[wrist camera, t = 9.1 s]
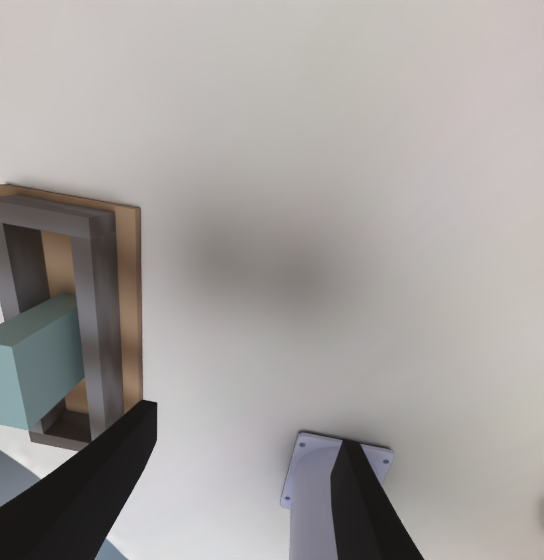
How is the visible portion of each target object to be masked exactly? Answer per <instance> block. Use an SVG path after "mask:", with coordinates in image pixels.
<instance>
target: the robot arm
mask: <svg viewBox="0 0 544 560" xmlns="http://www.w3.org/2000/svg"><path fill="white" fill-rule="evenodd" d="M156 441H157V402H152V401H147V400H140V401H139V402H138V403H137V404H135V405H134V406H133V407H132V408H131V409H130V410H129V411H127V412H126V413H125V414H124V415H123V416H122V417H121V418H119V419H118V420H117V421H116V422H115V423H114V424H112V425H111V426H110V427H109V428H108V429H106V430H105V431H104V432H103V433H102V434H100V435H99V436H98V437H97V438H95V439H94V440H93V441H92V442H90V443H89V444H88V445H87V446H86V447H84V448H83V449H82V450H80V451H79V452H78V453H77V454H75V455H74V456H73V457H71V458H70V459H69V460H67V461H66V462H65V463H63V464H62V465H61V466H59V467H58V468H57V469H55V470H54V471H53V472H51V473H50V474H48V475H47V476H46V477H44V478H43V479H41V480H40V481H39V482H37V483H36V484H34V485H33V486H31V487H30V488H29V489H27V490H26V491H24V492H22V493H21V494H19V495H18V496H16V497H15V498H13V499H12V500H10V501H9V502H7V503H6V504H4V505H3V506H1V507H0V560H94V559H95V557H96V555H97V553H98V551H99V549H100V547H101V546H102V544H103V542H104V540H105V538H106V536H107V535H108V533H109V531H110V529H111V528H112V526H113V524H114V522H115V521H116V519H117V517H118V515H119V513H120V512H121V510H122V508H123V506H124V505H125V503H126V501H127V499H128V498H129V496H130V494H131V492H132V490H133V489H134V487H135V485H136V483H137V481H138V480H139V478H140V476H141V474H142V472H143V471H144V469H145V466H146V464H147V462H148V460H149V457H150V455H151V453H152V451H153V448H154V446H155V444H156ZM393 459H394V455H393V452H392V451H391V450H389V449H384V448H379V447H374V446H369V445H364V444H360V443H359V442H354V441H349V440H344V439H343V440H339V439H334V438H329V437H324V436H319V435H314V434H309V433H300V434H298V436H297V440H296V444H295V448H294V451H293V455H292V459H291V462H290V466H289V470H288V474H287V477H286V481H285V485H284V488H283V492H282V496H281V500H280V505H281V507H283V508H287V509H291V510H290V548H289V560H424V558H423V557H422V555H421V554H420V552H419V550H418V549H417V547H416V546H415V544H414V542H413V541H412V539H411V537H410V536H409V534H408V532H407V531H406V529H405V527H404V526H403V524H402V522H401V520H400V519H399V517H398V515H397V513H396V512H395V510H394V508H393V506H392V504H391V503H390V501H389V499H388V497H387V495H386V494H385V492H384V490H383V488H382V486H381V485H382V483H383V480H384V478H385V476H386V474H387V472H388V470H389V467H390V465H391V463H392V461H393Z"/></svg>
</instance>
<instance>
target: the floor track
mask: <svg viewBox="0 0 544 560" xmlns="http://www.w3.org/2000/svg"><path fill="white" fill-rule="evenodd" d="M61 293H65V294H70V295H75V296H76V298H77V307H78V317H79V326H80V335H81V344H82V354H83V363H84V372H85V378H83V379H82V380H81V381H80V382H79V383H78V384H77V385H76V386H75V387H74V388H73V389H72V390H71V391H70V392H69V393H68V394H67V395H66V396H65V397H63V398H62V399H61V400H60V401H59V402H58V403H57V404H56V405H55V406H54V407H53V408H52V409H51V410H50V411H49V412H48V413H47V414H46V415H45V416H43V417H42V418H41V419H40V420H39V421H38V422H37V423H36V424H35V425H34V426H33V427H32V428H31V429H30V430H29V435H30V439H31V442H35V443H40V444H45V445H50V446H54V447H59V448H64V449H69V450H74V451H80V450H82V449H83V448H84V447H86V446H87V445H88V444H89V443H90V442H92V441H93V440H94V439H95V438H97V437H98V436H99V435H100V434H102V433H103V432H104V431H105V430H106V429H108V428H109V427H110V426H111V425H112V424H114V423H115V422H116V421H117V420H118V419H119V418H121V417H122V416H123V415H124V414H125V413H126V412H127V411H129V410H130V409H131V408H132V407H133V406H134V405H135V404H137V403H138V402H139V401H140V400H143V389H142V310H141V232H140V208H136V207H130V206H124V205H119V204H113V203H108V202H102V201H97V200H91V199H85V198H80V197H74V196H69V195H63V194H58V193H52V192H46V191H41V190H35V189H30V188H24V187H18V186H13V185H7V184H1V185H0V303H1V307H2V312H3V316H4V321H7V320H9V319H11V318H13V317H15V316H17V315H19V314H21V313H23V312H25V311H27V310H29V309H31V308H33V307H35V306H37V305H39V304H41V303H43V302H45V301H47V300H49V299H51V298H53V297H55V296H57V295H59V294H61Z"/></svg>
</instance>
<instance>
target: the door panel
mask: <svg viewBox="0 0 544 560" xmlns="http://www.w3.org/2000/svg"><path fill="white" fill-rule="evenodd" d="M83 378H85V372H84V363H83V354H82V344H81V335H80V326H79V317H78V307H77V298H76V296H75V295H70V294H65V293H61V294H59V295H57V296H55V297H53V298H51V299H49V300H47V301H45V302H43V303H41V304H39V305H37V306H35V307H33V308H31V309H29V310H27V311H25V312H23V313H21V314H19V315H17V316H15V317H13V318H11V319H9V320H7V321H5V322H3V323H1V324H0V425H5V426H10V427H15V428H19V429H24V430H30V429H31V428H32V427H33V426H34V425H35V424H36V423H37V422H38V421H39V420H40V419H41V418H42V417H43V416H45V415H46V414H47V413H48V412H49V411H50V410H51V409H52V408H53V407H54V406H55V405H56V404H57V403H58V402H59V401H60V400H61V399H62V398H63V397H65V396H66V395H67V394H68V393H69V392H70V391H71V390H72V389H73V388H74V387H75V386H76V385H77V384H78V383H79V382H80V381H81V380H82V379H83Z"/></svg>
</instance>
